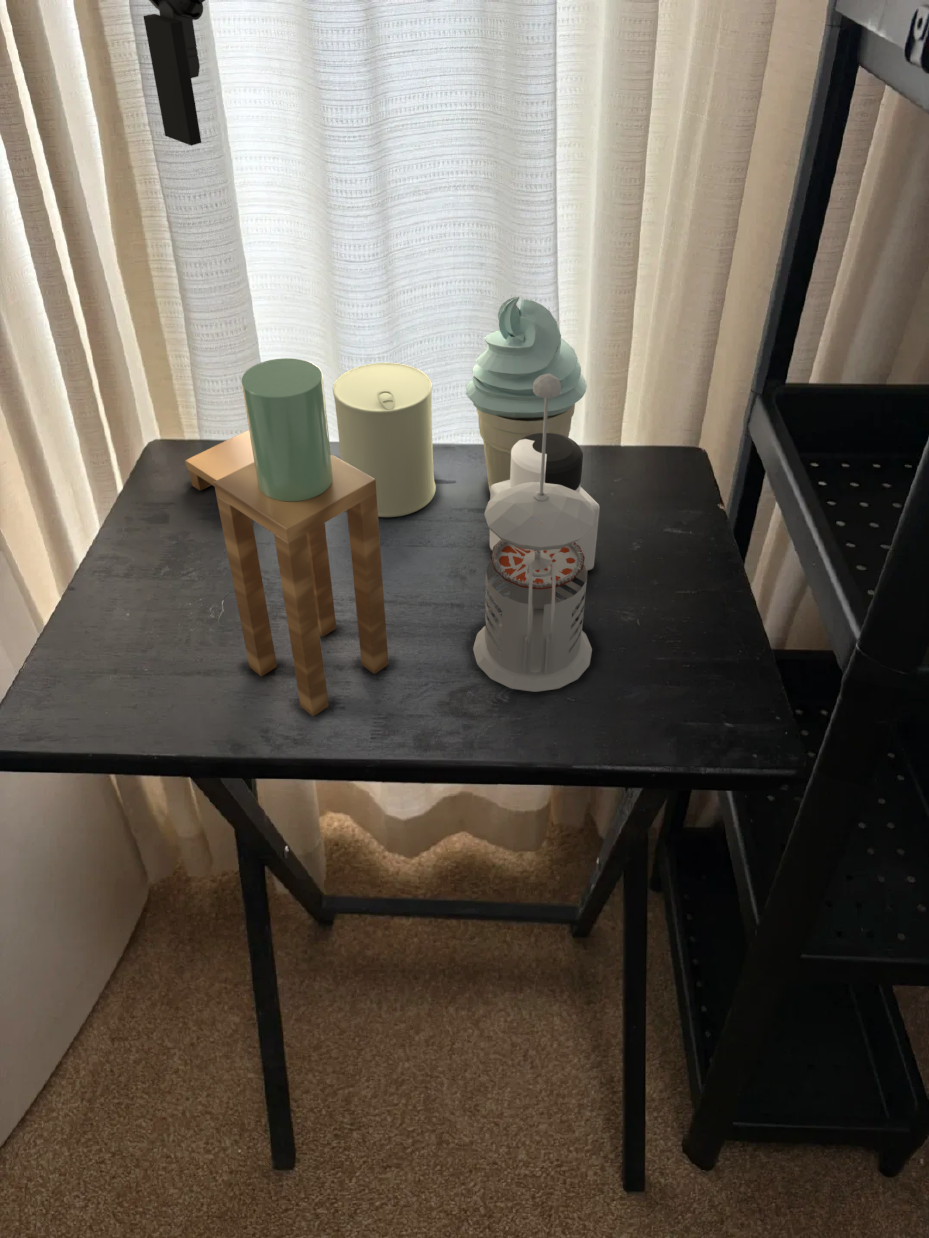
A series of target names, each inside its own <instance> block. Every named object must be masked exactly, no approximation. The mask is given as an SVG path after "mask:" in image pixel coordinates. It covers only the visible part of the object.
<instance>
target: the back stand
mask: <svg viewBox="0 0 929 1238" xmlns="http://www.w3.org/2000/svg"><path fill="white" fill-rule="evenodd" d="M184 461H185V466H186V469H187V470H188V473H189V478H190V483H191V486H192V487H194V488H195V489H196V490H198V491H200V492H201V491H203V490H206V489H207V488H209V487H211V486H213V487H215V486H214V482H215V481H217V480H219V479H221V478H223V477H225V476H227V475H229V474H231V473H233V472H235V471H237V470H239V469H241V468H243V467H245V466H247V465H249V464H251V463H253V462H254V457H253V451H252V445H251V438H250V432H249V429H247V430H245V431H243V432H241V433H239V434H237V435H235V436H233V437H231V438H229V439H226V440H224V441H222V442H220V443H218V444H216V445H214V446H212V447H210V448H208V449H206V450H204V451H201V452H200V453H197V454H195V455H192V456H191V457H188V458H187V459H185V460H184Z"/></svg>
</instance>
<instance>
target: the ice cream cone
mask: <svg viewBox="0 0 929 1238" xmlns="http://www.w3.org/2000/svg"><path fill="white" fill-rule="evenodd" d="M519 299H520V296H514V297H511V298H509V299H507V300H506V301H504V302H503V303H502V304H501V305H500V306H499V309H498V312H497V318H498V327H499V328H498V329H499V330H497V331H493V332H491V333H488V334H487V335H485V337H484V341H485V343H486V344H487V348H486V349H485V350H484V351H483V352H482V353H481V354H480V355H479V356H478V357H477V358H476V359H475V365H474V366H473V368H472V370H471V371H472V374H473V376H472V379H470V381H469V382H468V383H467V385H466V387H465V395H466V396H467V398H468V399H469V400H470V401H471V402H472V404H473V407H475V408H476V413H477V417H478V418H477V421H478V429H479V434H480V437H481V439H482V441H483V442H482V443H483V450H484V458H485V466H486V467H485V468H486V475H487V483H488V491H489V492H490V491H491V486H492V485H493V484H496V483H499V482H503V481H506V480H510V469H511V450H512V448H513V446H514V445H515V444H516V443H517V442H518V441H519V440H520V439H522V438H524V437H526V436H528V435H532V434H536V433H543V423H544V404H545V398H542V397H539V396H537V395H535V394H534V392H533V383H534V381H535V380H536V379H537V378H538V377H539V376H541V375H545V374H549V373H550V374H551V375H553V376H554V377H556V378H557V379H559V380H560V383H561V392H560V394H559V395H558V396H556V397H553V398H548V413H547V431H546V433H555V434H560V435H563V436H566V437H568V438H570V437H569V436H570V432H571V429H572V428H571V426H572V420H573V416H574V414H575V409H576V403H578V402H579V401H581V399H582V398H583V397H584V396H585V394H586V392H587V388H588V386H587V385H588V384H587V381H586V378H585V377H584V375H583V374H582V366H581V364H580V361H579V359H578V355H577V353H576V350H575V348H574V347H573V346H572V345H571V344H570V343H569V342H567V341H566V340H565V339H563V338H562V333H561V331H560V330H561V329H560V328H559V324H558V320H556V318H555V317H554V316H553V314H552V312H551V310H549V309H548V308H547V307H545V306H544V305H543V304H541V303H538V302H536V301H534V300H529V299H525V298H524V299H522V300H520V302H519V305H520V306H519V307H518V306H517V304H518V301H519Z"/></svg>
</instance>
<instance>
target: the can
mask: <svg viewBox="0 0 929 1238" xmlns="http://www.w3.org/2000/svg"><path fill="white" fill-rule="evenodd" d="M332 395H333V398H334V406H335V415H336V423H337V425H336V426H337V433H338V434H337V435H338V443H339V453H340V460H342V461H344V462H346V463H347V464H349V465H351V466H353V467H355V468H356V469H358V470H360V471H362V472H363V473H365V474H367V475H369V476H370V477H372V478H374V479H375V480H376V492H377V493H376V494H377V508H378V518H395V517H402V516H407V515H410V514H413V513H415V512H418V511H419V510H421V509H423V508H425V507H426V506H427V505H429V503H431V501H432V500H433V498H434V497H435V495H436V494H435V493H436V490H437V489H436V487H437V486H436V482H435V475H434V473H435V472H434V452H433V451H434V450H433V405H432V404H433V403H432V402H433V401H432V399H433V383H432V380H431V379H430V377H429V375H427V374H426V373H425V372H424V371H422V370H421V369H418V368H417V367H414V366H411V365H407V364H403V363H395V362H374V363H368V364H363V365H359V366H356V367H354V368H351V369H349V370H347V371H345V372H344V373H342V374H341V375H339V377H337V379H336V380H335V381H334V383H333V387H332Z"/></svg>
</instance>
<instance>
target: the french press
mask: <svg viewBox="0 0 929 1238" xmlns="http://www.w3.org/2000/svg"><path fill="white" fill-rule="evenodd" d="M533 392H534V394H535V395H537V396H539V397H542V398H545V404H544V423H543V442H542V461H541V480H540V482H528V483H523V484H519V485H516V486H513V487H511V488H508V489H505V490H503V491H500V492H499V493H498V494H497V495H496V496H494V497H493V498H492V499H491V500H490V499H489V501H488V502H487V505H486V507H485V510H484V513H483V514H484V518H485V520H486V523H487V527H488V528H489V531H490V530H491V531H492V532H493V533H495V534H496V535H497V536H498V537H499V538H500V539H501V540H500V541H499V542H498V543H497V544H496V545H495V546H494V547H493V550H491V554H490V560H489V562H488V565H487V567H486V570H485V582H484V583H485V586H486V588H485V589H484V592H485V599H486V601H485V602H484V605H485V606H484V608H485V609H484V610H485V614H484V622H485V625H484V626H483V627H482V628H481V630H479V631H478V632H477V634H476V637H475V641H474V645H473V647H472V651H473V654H474V658H475V661H476V665H477V666H478V667H479V669H480V670H481V671H483V672H484V673H485V675H487V677H488V678H489V679H490V680H492V681H494V682H496V683H499V684H501V685H502V686H505V687H507V688H509V689H512V690H519V691H526V692H533V693H537V692H545V691H551V690H558V689H561V688H563V687H565V686H567V685H569V684H570V683H573V682H575V681H577V680H579V678H580V677H581V676H582V675H583V674H584V672H586V670H587V669H588V668H589V667H590V665H591V658H592V652H593V648H592V646H591V643H590V641H589V638H588V636H587V634H586V632H585V631H583V624H584V612H585V602H586V601H585V600H586V592H587V591H586V590H587V582H588V571H587V570H586V568H585V566H584V559H585V557H584V555H583V552H582V550H581V548H580V546H579V545H577V544H576V543H575V542H576V541H578V540H579V539H581V538H582V537H583V536H584V535H585V534H586V533H587V532H588V531H589V530H590V529H591V528H592V527H593V523H594V518H595V513H594V510H593V508H592V506H591V504H590V502H589V501H588V500H587V499H585V498H584V497H583V496H582V495H580V494H579V493H578V492H577V491H574V490H572V489H569V488H567V487H565V486H562V485H558V484H549V483H544V466H545V449H546V431H547V413H548V398H553V397H556V396H558V395H559V394H560V392H561V383H560V380H559V379H557V378H556V377H554V376H553V375H551V374H550V373H549V374H545V375H541V376H539V377H538V378H537V379H536V380H535V381H534V383H533ZM497 575H499V576H500V578H499V579H497V580H495V581H493V582H492V583H491V582H490V580H491V579H492V578H494V577H496V576H497ZM575 578H576V579H578V580H580V581H581V582H582V583H584V584H583V585H582V586H581V585H579V584H577V583H575V582H574V581H573V580H574V579H575ZM506 582H508V583H509V584H508V585H507V586H506V585H505V587H503V588H501V589H500V590H496V588H498V587H500V586H502V585H503V584H505V583H506ZM563 585H565V586H567V587H569V588H570V589H571V590H574V591H575V592H576V593H575V594H572V593H571V592H569V591H567V590H566V589H565V588H562V587H561V586H563ZM508 592H509V596H505V594H507V593H508ZM556 593H558V594H559V595H562V596H563V597H564V598H565V599H563V600H562V599H560V598H559V597H557V596H556ZM489 595H490V596H489ZM583 597H584V598H583ZM493 602H494V603H495V605H494V604H493ZM488 606H489V607H488ZM578 606H579V607H578ZM577 607H578V609H577ZM499 609H500V611H501V612H499V611H498V610H499ZM582 609H583V610H582ZM492 614H493V615H494V617H493V615H492ZM577 618H578V619H577ZM488 619H489V620H488ZM576 619H577V620H576Z"/></svg>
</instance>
